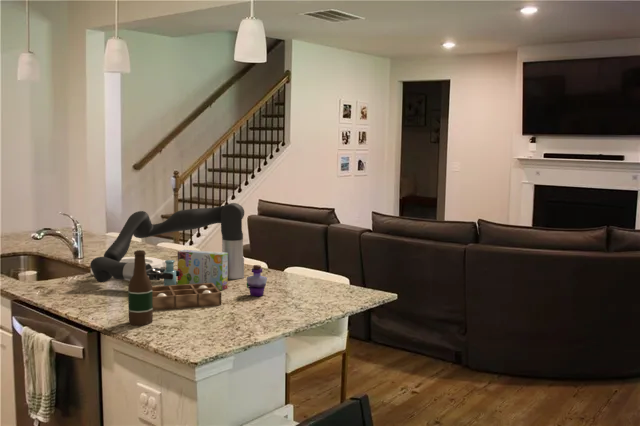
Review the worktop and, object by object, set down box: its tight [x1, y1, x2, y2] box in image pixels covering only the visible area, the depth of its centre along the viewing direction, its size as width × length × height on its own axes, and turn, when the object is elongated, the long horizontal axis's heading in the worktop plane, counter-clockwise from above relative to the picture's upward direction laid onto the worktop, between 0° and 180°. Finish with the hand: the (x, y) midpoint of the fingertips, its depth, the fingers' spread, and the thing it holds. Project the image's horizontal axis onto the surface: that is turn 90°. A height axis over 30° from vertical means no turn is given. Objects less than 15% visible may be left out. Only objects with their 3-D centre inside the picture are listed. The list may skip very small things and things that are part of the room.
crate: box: [152, 283, 222, 311], centre depth 225 cm, size 25×17×5 cm
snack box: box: [177, 249, 229, 291], centre depth 248 cm, size 21×6×15 cm, turn 71°
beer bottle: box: [127, 249, 154, 327], centre depth 196 cm, size 8×8×24 cm
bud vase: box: [163, 259, 177, 286], centre depth 237 cm, size 5×5×13 cm
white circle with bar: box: [90, 256, 167, 279], centre depth 277 cm, size 28×28×5 cm
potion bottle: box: [246, 264, 268, 298], centre depth 236 cm, size 9×9×12 cm
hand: (176, 275), depth 236 cm, fingers closed on bud vase, 5 cm apart
